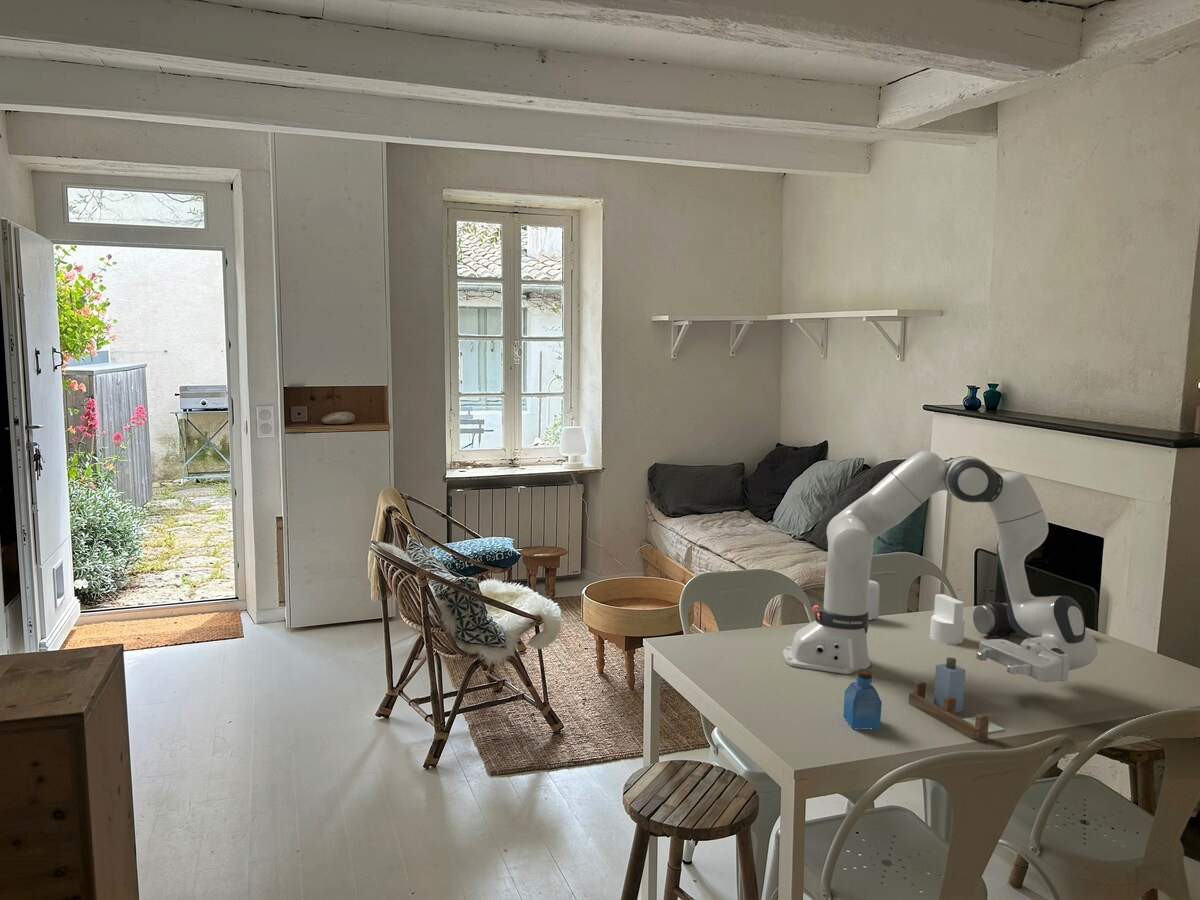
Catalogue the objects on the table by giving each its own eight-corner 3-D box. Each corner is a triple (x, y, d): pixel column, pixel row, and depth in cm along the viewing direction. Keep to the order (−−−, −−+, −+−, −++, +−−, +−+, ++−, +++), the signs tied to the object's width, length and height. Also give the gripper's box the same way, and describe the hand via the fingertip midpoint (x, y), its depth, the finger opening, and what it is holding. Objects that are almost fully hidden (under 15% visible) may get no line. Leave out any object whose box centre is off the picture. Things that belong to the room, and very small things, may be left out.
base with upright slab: (923, 635, 258) (925, 595, 256) (949, 632, 261) (951, 593, 259) (943, 645, 249) (946, 604, 248) (970, 642, 252) (973, 602, 251)
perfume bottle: (870, 717, 199) (873, 666, 198) (879, 729, 193) (883, 676, 192) (843, 717, 199) (846, 666, 198) (851, 729, 193) (855, 676, 192)
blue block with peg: (947, 713, 202) (950, 663, 201) (933, 706, 206) (936, 656, 205) (962, 711, 204) (966, 661, 202) (948, 703, 208) (952, 654, 207)
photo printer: (847, 621, 269) (850, 581, 268) (842, 617, 274) (844, 578, 272) (880, 621, 271) (882, 581, 269) (874, 616, 275) (877, 577, 273)
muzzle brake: (1073, 637, 259) (1076, 603, 258) (991, 643, 252) (993, 608, 251) (1049, 627, 268) (1052, 594, 267) (969, 632, 261) (972, 598, 260)
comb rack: (974, 740, 189) (975, 718, 188) (908, 703, 208) (909, 682, 207) (1010, 733, 192) (1012, 711, 192) (943, 697, 211) (944, 677, 211)
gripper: (1005, 630, 222) (961, 636, 217) (1074, 657, 203) (1029, 664, 198) (1003, 654, 223) (960, 661, 218) (1072, 683, 204) (1027, 691, 199)
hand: (993, 663), depth 208 cm, fingers open, 8 cm apart
